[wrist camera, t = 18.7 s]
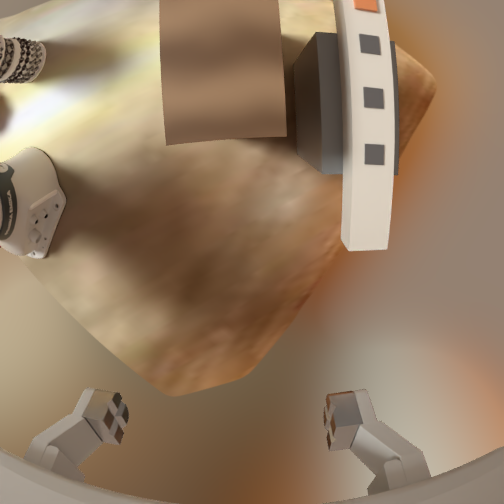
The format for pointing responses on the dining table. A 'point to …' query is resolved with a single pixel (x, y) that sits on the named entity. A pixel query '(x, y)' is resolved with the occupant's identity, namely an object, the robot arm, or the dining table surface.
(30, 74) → the decorative candle
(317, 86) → the dark grey block
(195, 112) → the walnut post
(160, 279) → the dining table surface
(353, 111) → the power strip
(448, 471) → the robot arm
